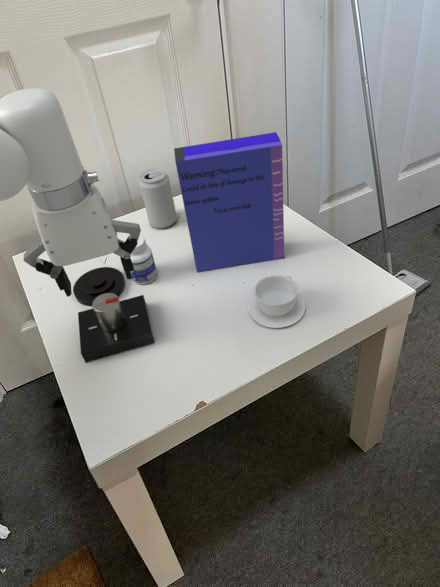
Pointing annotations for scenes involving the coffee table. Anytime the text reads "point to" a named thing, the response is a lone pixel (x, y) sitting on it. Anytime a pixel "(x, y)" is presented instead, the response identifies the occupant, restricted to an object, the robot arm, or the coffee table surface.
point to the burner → (98, 284)
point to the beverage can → (158, 198)
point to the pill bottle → (143, 263)
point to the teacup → (276, 302)
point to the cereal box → (233, 200)
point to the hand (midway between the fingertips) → (99, 282)
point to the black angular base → (110, 343)
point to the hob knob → (109, 312)
